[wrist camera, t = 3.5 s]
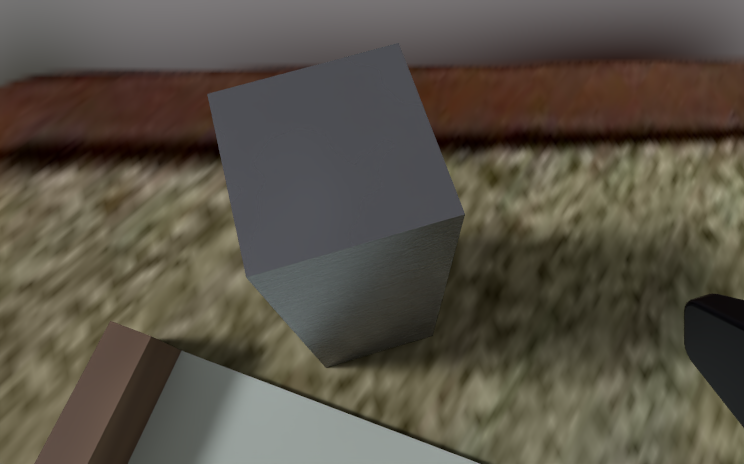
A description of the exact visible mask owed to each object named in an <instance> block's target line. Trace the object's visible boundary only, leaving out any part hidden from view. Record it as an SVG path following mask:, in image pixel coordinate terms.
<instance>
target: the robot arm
mask: <svg viewBox="0 0 744 464" xmlns="http://www.w3.org/2000/svg"><path fill="white" fill-rule="evenodd" d="M684 344H685V349H686V352H687V355H688V356H689V358H690V360H691V361H692V363H693V364H694V365H695V366H696V368H697V369H698V370H699V371H700V373H701V374H702V375H703V377H704V378H705V379H706V380H707V382H708V383H709V384H710V385H711V387H712V388H713V389H714V391H715V392H716V393H717V394H718V396H719V397H720V398H721V399H722V401H723V402H724V403H725V405H726V406H727V407H728V408H729V410H730V411H731V412H732V413H733V415H734V416H735V417H736V419H737V420H738V421H739V422H740V424H741V425H742V426H743V427H744V300H741V299H736V298H732V297H728V296H724V295H719V294H708V295H705V296H701V297H698V298H695V299H692V300H690V301H688V302H687V303H686V305H685V309H684Z"/></svg>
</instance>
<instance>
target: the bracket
mask: <svg viewBox="0 0 744 464" xmlns="http://www.w3.org/2000/svg"><path fill="white" fill-rule="evenodd" d="M208 99H209V104H210V108H211V113H212V118H213V123H214V127H215V132H216V137H217V141H218V146H219V151H220V156H221V160H222V165H223V170H224V174H225V179H226V184H227V189H228V193H229V198H230V203H231V207H232V212H233V217H234V222H235V226H236V231H237V236H238V240H239V245H240V250H241V255H242V259H243V264H244V269H245V273H246V278H247V279H248V280H249V281H250V282H251V283H252V284H253V285H254V287H255V288H256V289H257V290H258V291H259V292H260V293H261V295H262V296H263V297H264V298H265V299H266V300H267V301H268V303H269V304H270V305H271V306H272V307H273V308H274V309H275V310H276V312H277V313H278V314H279V315H280V316H281V317H282V318H283V320H284V321H285V322H286V323H287V324H288V325H289V326H290V328H291V329H292V330H293V331H294V332H295V333H296V334H297V336H298V337H299V338H300V339H301V340H302V341H303V342H304V343H305V345H306V346H307V347H308V348H309V349H310V350H311V351H312V353H313V354H314V355H315V356H316V357H317V358H318V359H319V361H320V362H321V363H322V364H323V365H324V366H325V367H326V368H327V367H330V366H334V365H337V364H340V363H344V362H347V361H350V360H353V359H357V358H360V357H363V356H367V355H370V354H373V353H377V352H380V351H383V350H387V349H390V348H393V347H397V346H400V345H403V344H407V343H410V342H413V341H417V340H420V339H423V338H427V337H430V336H433V332H434V328H435V324H436V321H437V317H438V313H439V309H440V306H441V302H442V298H443V295H444V291H445V287H446V283H447V280H448V276H449V272H450V268H451V265H452V261H453V257H454V253H455V250H456V246H457V242H458V238H459V235H460V231H461V227H462V223H463V220H464V216H465V213H464V211H463V208H462V205H461V203H460V200H459V198H458V195H457V193H456V190H455V187H454V185H453V182H452V180H451V177H450V175H449V172H448V169H447V167H446V164H445V162H444V159H443V156H442V154H441V151H440V149H439V146H438V144H437V141H436V138H435V136H434V133H433V131H432V128H431V126H430V123H429V120H428V118H427V115H426V113H425V110H424V107H423V105H422V102H421V100H420V97H419V95H418V92H417V89H416V87H415V84H414V82H413V79H412V77H411V74H410V71H409V69H408V66H407V64H406V61H405V58H404V56H403V53H402V51H401V48H400V46H399V43H397V44H393V45H390V46H386V47H382V48H378V49H374V50H371V51H367V52H363V53H360V54H356V55H352V56H348V57H345V58H341V59H337V60H334V61H330V62H326V63H322V64H318V65H315V66H311V67H307V68H303V69H300V70H296V71H292V72H288V73H285V74H281V75H277V76H273V77H270V78H266V79H262V80H258V81H255V82H251V83H247V84H243V85H240V86H236V87H232V88H228V89H225V90H221V91H217V92H213V93H210V94H208Z"/></svg>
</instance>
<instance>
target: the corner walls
mask: <svg viewBox="0 0 744 464" xmlns="http://www.w3.org/2000/svg"><path fill="white" fill-rule="evenodd" d="M180 353H181V350H179V349H177V348H175V347H173V346H171V345H169V344H166V343H164V342H162V341H160V340H158V339H156V338H154V337H151V336H149V335H146V334H143V333H141V332H138V331H136V330H133V329H130V328H128V327H125V326H122V325H120V324H117V323H114V322H112V321H110V323H109V325H108V326H107V328H106V330H105V332H104V334H103V336H102V338H101V340H100V341H99V343H98V345H97V347H96V349H95V351H94V353H93V355H92V357H91V358H90V360H89V362H88V364H87V366H86V368H85V370H84V372H83V373H82V375H81V377H80V379H79V381H78V383H77V385H76V387H75V389H74V390H73V392H72V394H71V396H70V398H69V400H68V402H67V404H66V405H65V407H64V409H63V411H62V413H61V415H60V417H59V419H58V421H57V422H56V424H55V426H54V428H53V430H52V432H51V434H50V436H49V437H48V439H47V441H46V443H45V445H44V447H43V449H42V451H41V453H40V454H39V456H38V458H37V460H36V462H35V464H128V462H129V460H130V458H131V456H132V454H133V452H134V449H135V447H136V445H137V443H138V441H139V439H140V437H141V435H142V433H143V431H144V428H145V426H146V424H147V422H148V420H149V418H150V416H151V414H152V412H153V410H154V407H155V405H156V403H157V401H158V399H159V397H160V395H161V393H162V391H163V389H164V386H165V384H166V382H167V380H168V378H169V376H170V374H171V372H172V370H173V368H174V365H175V363H176V361H177V359H178V357H179V355H180Z"/></svg>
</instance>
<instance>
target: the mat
mask: <svg viewBox="0 0 744 464" xmlns="http://www.w3.org/2000/svg"><path fill="white" fill-rule="evenodd" d="M128 464H479V463H477V462H474V461H471V460H469V459H466V458H464V457H461V456H458V455H456V454H453V453H450V452H448V451H445V450H442V449H440V448H437V447H435V446H432V445H429V444H427V443H424V442H421V441H419V440H416V439H413V438H411V437H408V436H406V435H403V434H400V433H398V432H395V431H392V430H390V429H387V428H384V427H382V426H379V425H376V424H374V423H371V422H369V421H366V420H363V419H361V418H358V417H355V416H353V415H350V414H347V413H345V412H342V411H340V410H337V409H334V408H332V407H329V406H326V405H324V404H321V403H318V402H316V401H313V400H311V399H308V398H305V397H303V396H300V395H297V394H295V393H292V392H289V391H287V390H284V389H282V388H279V387H276V386H274V385H271V384H268V383H266V382H263V381H260V380H258V379H255V378H253V377H250V376H247V375H245V374H242V373H239V372H237V371H234V370H231V369H229V368H226V367H223V366H221V365H218V364H216V363H213V362H210V361H208V360H205V359H202V358H200V357H197V356H194V355H192V354H189V353H187V352H184V351H181V353H180V355H179V357H178V359H177V361H176V363H175V365H174V368H173V370H172V372H171V374H170V376H169V378H168V380H167V382H166V384H165V386H164V389H163V391H162V393H161V395H160V397H159V399H158V401H157V403H156V405H155V407H154V410H153V412H152V414H151V416H150V418H149V420H148V422H147V424H146V426H145V428H144V431H143V433H142V435H141V437H140V439H139V441H138V443H137V445H136V447H135V449H134V452H133V454H132V456H131V458H130V460H129V462H128Z"/></svg>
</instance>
